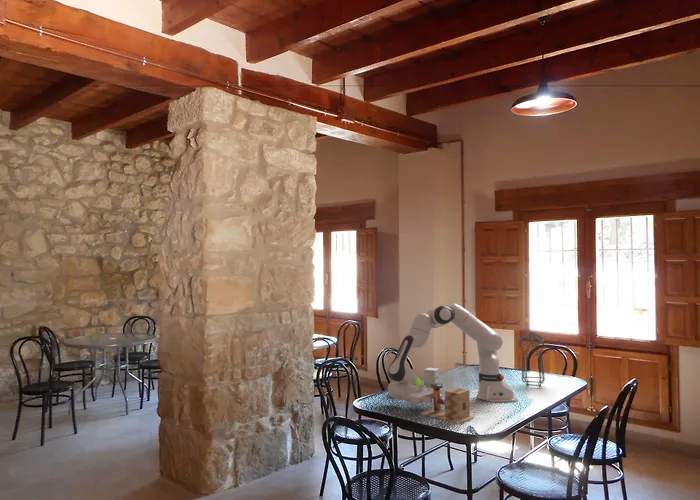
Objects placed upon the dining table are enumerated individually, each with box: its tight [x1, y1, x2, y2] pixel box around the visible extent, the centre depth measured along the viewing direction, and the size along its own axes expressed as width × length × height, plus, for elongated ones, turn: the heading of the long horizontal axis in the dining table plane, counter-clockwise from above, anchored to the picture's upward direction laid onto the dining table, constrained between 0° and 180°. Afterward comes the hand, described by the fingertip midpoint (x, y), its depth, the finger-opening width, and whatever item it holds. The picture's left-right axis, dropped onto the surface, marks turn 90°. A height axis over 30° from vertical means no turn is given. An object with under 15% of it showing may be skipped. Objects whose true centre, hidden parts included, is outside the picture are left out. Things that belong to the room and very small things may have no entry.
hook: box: [431, 382, 464, 411], centre depth 258 cm, size 18×6×13 cm, turn 48°
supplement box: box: [423, 367, 440, 389], centre depth 316 cm, size 7×7×13 cm
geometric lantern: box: [518, 331, 546, 388], centre depth 323 cm, size 16×16×35 cm
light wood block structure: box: [420, 387, 475, 424], centre depth 258 cm, size 24×12×14 cm, turn 48°
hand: (436, 398), depth 263 cm, fingers open, 8 cm apart
